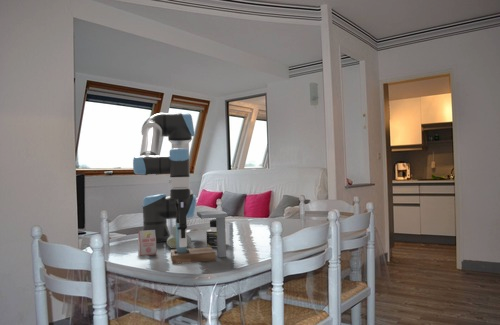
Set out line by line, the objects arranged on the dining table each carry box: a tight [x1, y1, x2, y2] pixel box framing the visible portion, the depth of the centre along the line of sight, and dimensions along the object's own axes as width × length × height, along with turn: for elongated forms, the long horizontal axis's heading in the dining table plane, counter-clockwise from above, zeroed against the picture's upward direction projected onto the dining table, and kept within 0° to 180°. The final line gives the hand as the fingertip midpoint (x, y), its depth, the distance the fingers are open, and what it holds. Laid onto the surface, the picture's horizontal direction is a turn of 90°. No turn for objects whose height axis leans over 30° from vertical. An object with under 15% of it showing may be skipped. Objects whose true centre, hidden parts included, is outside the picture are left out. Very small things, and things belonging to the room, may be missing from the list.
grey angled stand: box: [196, 209, 229, 258], centre depth 155 cm, size 14×10×18 cm
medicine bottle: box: [205, 218, 228, 248], centre depth 181 cm, size 7×7×12 cm
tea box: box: [137, 230, 157, 257], centre depth 165 cm, size 4×7×10 cm, turn 115°
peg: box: [175, 222, 188, 254], centre depth 152 cm, size 4×4×14 cm
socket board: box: [170, 246, 216, 265], centre depth 153 cm, size 12×16×3 cm
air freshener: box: [166, 224, 192, 250], centre depth 179 cm, size 11×8×10 cm
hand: (181, 244), depth 152 cm, fingers open, 12 cm apart
